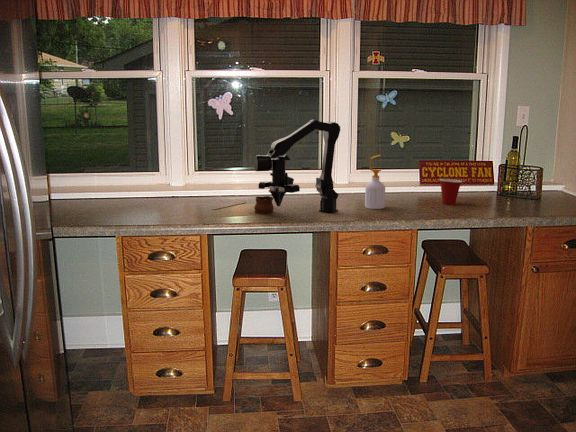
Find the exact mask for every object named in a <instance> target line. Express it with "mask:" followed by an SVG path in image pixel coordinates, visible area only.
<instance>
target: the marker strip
mask: <svg viewBox="0 0 576 432" xmlns="http://www.w3.org/2000/svg"><path fill="white" fill-rule="evenodd" d="M243 204H247V202H246V201H242V202H237V203H234V204H229V205H223V206H218V207H215V208H212V209H211V210H213V211H216V210H220V209H225V208H230V207H233V206H235V207H236V206H238V205H243Z"/></svg>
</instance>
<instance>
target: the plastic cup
mask: <svg viewBox="0 0 576 432" xmlns="http://www.w3.org/2000/svg"><path fill="white" fill-rule="evenodd" d="M439 182H440V189H441V191H440V192H441V199H442V204H443V205H449V206H453V205H456V202H457V198H458V195H459V191H460V187H461V185H462V183H463V180H459V179H453V178H439Z"/></svg>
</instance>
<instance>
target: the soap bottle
mask: <svg viewBox="0 0 576 432" xmlns="http://www.w3.org/2000/svg"><path fill="white" fill-rule="evenodd" d="M379 157H381V154H377V155H373V156H371V158H370V159H369V170H370V171H371V172H372V173H373V175H371V181H369V182H368V183H366V185H365V189H364V190H365V192H364V207H365V208H367V209H368V210H369V209H370V210H381V209H382V210H383V209H384V208H385V205H386V185H385V184H384V183H383V182H381V180H380V175H378V174H379V173H380V172H381V171H382V169H381V168H379V169H378V168H376V169H375V168H372V159H375V158H379Z"/></svg>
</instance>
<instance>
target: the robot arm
mask: <svg viewBox="0 0 576 432" xmlns="http://www.w3.org/2000/svg"><path fill="white" fill-rule="evenodd" d="M316 130H317V131H320V132H321V131H322V136H323V137H322V138H323V140H324V147H323V156H322V164H321V165H322V166H321V174H320V176H319V177H316V178H315V185H314V187H315V188H316V191H317V192H318V193H319V195H320V197H321V198H320V203H319V204H320V205H319V206H320V207H319V210H318V211H319V212H322V213H328V214H331V213H335V212H338V211H339V209H337V200H338V197H339V194H338V192H336V190H334V180H333V177H332V173H333V166H334V156H335V147H336V142H337V140H338V138H339V136H340V132H341V126H340V124H339V123H337V122H335V121H334V122H333V121H326V122H324V121H321V120H317V119H309V121H308V122H307V123H305V124H304V125H302V126H301V127H299V128H298V129H296V130H295V131H293V132H292V133H291V134H289V135H287V136H285V137H282V138H279V139H277V140H275V141H273V142H272V143H271V144H270V149H269V150H268V152H267V154H266V155H259V154H256V155H255V159H254V162H253V163H254V164H253V165H254V167H253V168H254V171H255V172H269V171H270V170H271V169H272V170H271V172H270V173H269V174H270V176H271V179H272V180H270V181H268V180H264V181H259V183H258V189H260V190H264V189H265V188H269V190H268V193H270V195H271V197H273V200H274V202H275V204H276V207H281V204H282V202H283V200H284V197H285V195H286V194H287V193H292V194H293V193H298V192H300V191H301V190H300V185H299V184H294V181H295V178H293V177H291V176H289V175H288V172H286V162H287V161H291V158H290V157H289V156H288V155H287V153H288V151H289V150H291V148H292V147H293V146H294V145H295V144H297V142H299V141H301V140H302V139H303V138H305V137H306V136H308V135H309V134H311V133H312V132H313V131H316Z"/></svg>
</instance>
